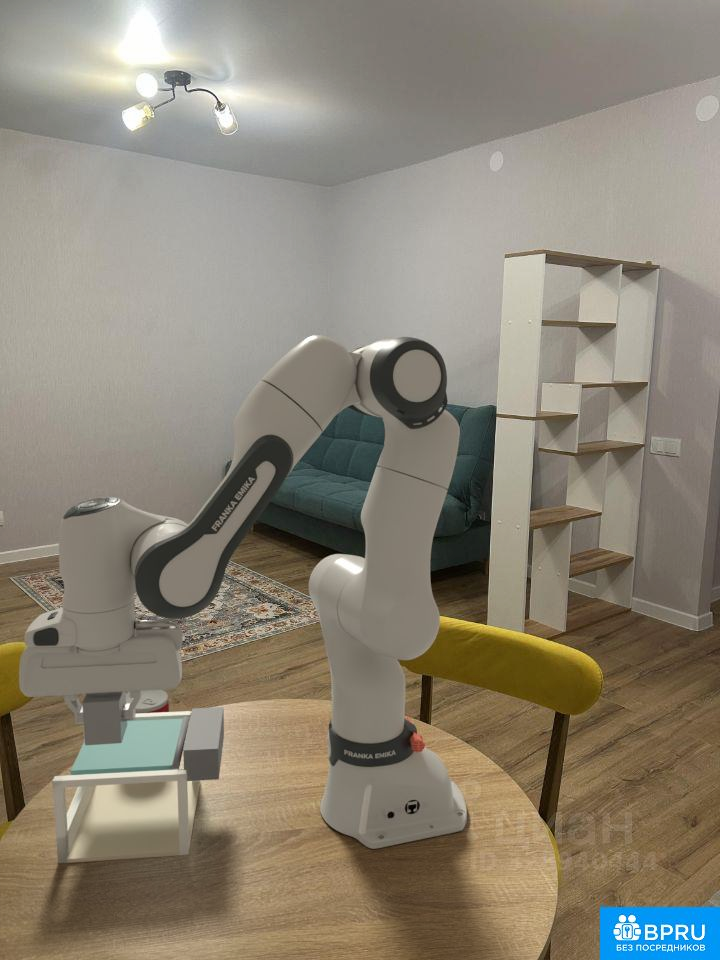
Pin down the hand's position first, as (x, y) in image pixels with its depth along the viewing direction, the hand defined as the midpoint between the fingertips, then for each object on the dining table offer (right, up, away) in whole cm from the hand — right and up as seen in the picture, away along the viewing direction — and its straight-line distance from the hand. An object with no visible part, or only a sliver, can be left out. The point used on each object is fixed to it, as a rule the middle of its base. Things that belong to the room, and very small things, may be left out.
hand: (105, 720), depth 98 cm
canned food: (-3, -16, +29) cm, 33 cm away
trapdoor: (+3, -10, +11) cm, 15 cm away
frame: (0, -19, +13) cm, 23 cm away
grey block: (0, -2, 0) cm, 2 cm away
